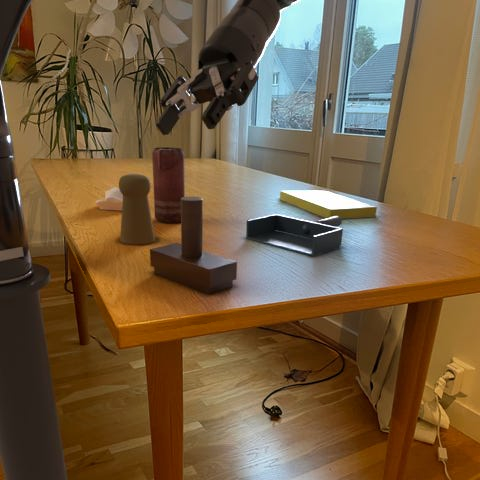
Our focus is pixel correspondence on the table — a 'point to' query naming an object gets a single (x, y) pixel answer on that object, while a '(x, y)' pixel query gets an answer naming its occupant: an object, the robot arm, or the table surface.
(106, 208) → the pale pink lumpy piece
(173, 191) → the can
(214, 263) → the stamp
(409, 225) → the table surface
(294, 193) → the yellow foam board
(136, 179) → the cork
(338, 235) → the dustpan
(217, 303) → the table surface
